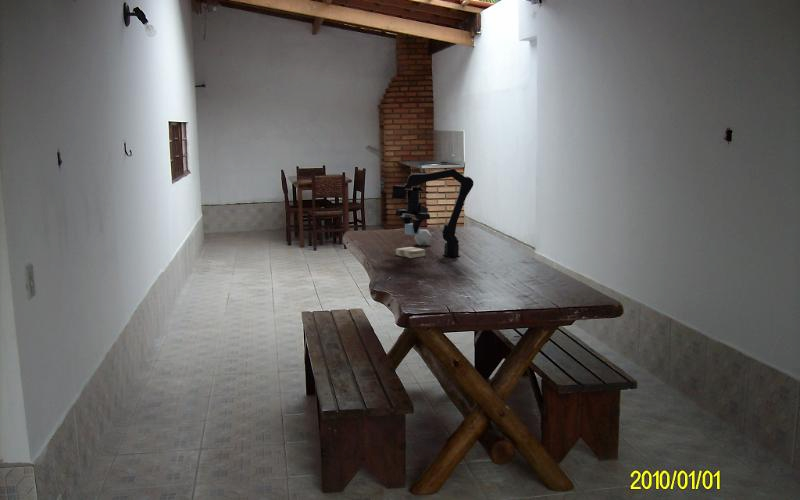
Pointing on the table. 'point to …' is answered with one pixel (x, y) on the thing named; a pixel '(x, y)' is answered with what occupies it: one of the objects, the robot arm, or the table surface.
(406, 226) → the slate block
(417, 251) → the maple base
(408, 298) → the table surface
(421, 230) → the die
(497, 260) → the table surface
